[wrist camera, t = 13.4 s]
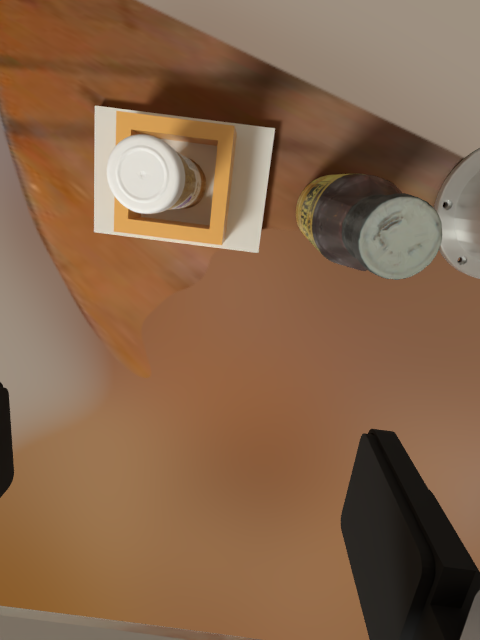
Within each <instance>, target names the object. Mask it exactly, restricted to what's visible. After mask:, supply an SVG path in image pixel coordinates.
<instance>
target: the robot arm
mask: <svg viewBox="0 0 480 640" xmlns="http://www.w3.org/2000/svg"><path fill="white" fill-rule="evenodd" d="M444 202H445V203H446V205H445V207H443V203H444ZM434 209H435V210H436V211H437V213H438V215H439V217H440V219H441V223H442V242H441V245H440V248H439V250H440V252H441V254H442V256H443V257H444V258H445V259H446V260H447V262H448V263H449V264H450V265H452V266H453V267H455V268H456V269H457V270H458V271H461V272H463V273H465V274H467V275H469V276H472V277H475V278H479V279H480V148H479V149H477V150H475V151H474V152H472V153H471V154H470V155H468V156H467V157H465V158H464V159H463V160H462V161H461V162H460V163H459V164H458V165H457V166H456V167H455V168H454V169H453V170H452V171H451V173H450V174H449V175H448V177H447V178H446V179H445V181H444V183H443V185H442V187H441V189H440V191H439V193H438V195H437V198H436V202H435V205H434ZM459 257H460V260H459V261H458V258H459ZM13 476H14V467H13V451H12V436H11V422H10V407H9V393H8V390H7V389H6V388H3V385H2V384H1V383H0V497H1V496H2V495H3V494H4V493H5V491H6V490H7V489H8V488H9V486H10V484H11V482H12V480H13ZM341 529H342V533H343V537H344V542H345V545H346V549H347V553H348V557H349V560H350V565H351V569H352V573H353V576H354V580H355V584H356V588H357V592H358V595H359V600H360V604H361V608H362V612H363V615H364V619H365V623H366V627H367V631H368V635H369V639H370V640H480V572H479V570H478V568H477V567H476V565H475V563H474V562H473V560H472V558H471V557H470V555H469V553H468V552H467V550H466V548H465V547H464V545H463V543H462V542H461V540H460V538H459V537H458V535H457V533H456V531H455V530H454V528H453V526H452V525H451V523H450V521H449V520H448V518H447V517H446V515H445V513H444V511H443V510H442V508H441V506H440V505H439V503H438V501H437V500H436V498H435V496H434V495H433V493H432V492H431V491H430V490H428V488H427V486H426V484H425V483H424V481H423V479H422V478H421V476H420V474H419V473H418V471H417V469H416V467H415V466H414V464H413V462H412V461H411V459H410V457H409V456H408V454H407V452H406V451H405V449H404V447H403V446H402V444H401V442H400V440H399V439H398V437H397V435H396V434H395V433H394V432H392V431H384V430H377V429H371V430H370V431H369V433H368V434H362V436H361V439H360V442H359V447H358V451H357V454H356V459H355V462H354V466H353V471H352V475H351V479H350V482H349V487H348V490H347V494H346V499H345V502H344V507H343V510H342V515H341ZM0 640H259V639H251V638H244V637H237V636H229V635H222V634H214V633H206V632H200V631H191V630H184V629H177V628H169V627H162V626H154V625H146V624H138V623H129V622H123V621H115V620H107V619H100V618H92V617H84V616H76V615H68V614H60V613H52V612H44V611H36V610H28V609H21V608H13V607H4V606H0Z"/></svg>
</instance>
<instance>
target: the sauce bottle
mask: <svg viewBox="0 0 480 640" xmlns="http://www.w3.org/2000/svg"><path fill="white" fill-rule="evenodd" d="M296 219H297V224H298V226H299V228H300V230H301V232H302V233H303V235H304V236H305V237H306V238H307V239H308V240H309V241H310V242H311V243H312V244H313V245H314V246H315V247H316V249H317V250H318V251H320V253H321V254H322V255H323V256H324V257H326V258H327V259H328V260H330V261H332V262H334V263H338V264H341V265H344V266H347V267H351V268H354V269H358V270H361V271H366V270H369V271H370V272H372V273H374V274H375V275H378V276H380V277H383V278H387V279H395V280H398V279H402V278H403V279H404V278H408V277H411V276H413V275H415V274H417V273H419V272H420V271H422V270H423V269H424V268H425V267H426V266H428V265H429V264H430V263H431V262H432V260H433V259H434V257H435V256H436V254H437V252H438V250H439V248H440V245H441V242H442V223H441V219H440V217H439V215H438V213H437V211H436V210H435V209H434V208H433V207H432V206H431V205H430V204H429V203H427V202H426V201H424V200H422V199H420V198H418V197H414V196H412V195H409V194H405V193H404V194H402V192H401V191H400V190H399V189H398V188H397V187H396V186H395V185H394V184H393V183H391V182H390V181H387V180H385V179H383V178H379V177H377V176H371V175H366V174H338V175H326V176H322V177H320V178H317V179H315V180H314V181H312V182H311V183H310V184H309V185H307V186H306V187H305V189H304V190H303V192H302V193H301V195H300V197H299V199H298V202H297V207H296Z"/></svg>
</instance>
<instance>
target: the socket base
mask: <svg viewBox="0 0 480 640" xmlns="http://www.w3.org/2000/svg"><path fill="white" fill-rule="evenodd" d="M274 133H275V128H268V127H260V126H252V125H244V124H237V123H229V122H221V121H213V120H205V119H197V118H189V117H181V116H174V115H166V114H158V113H150V112H142V111H134V110H126V109H118V108H111V107H103V106H95V166H94V232H97V233H105V234H113V235H121V236H129V237H137V238H145V239H152V240H160V241H168V242H176V243H184V244H192V245H200V246H207V247H215V248H223V249H231V250H239V251H248V252H255V253H258V252H259V244H260V237H261V229H262V222H263V215H264V207H265V200H266V192H267V185H268V177H269V170H270V163H271V155H272V148H273V140H274ZM137 134H145V135H151V136H154V137H156V138H158V139H161V140H162V141H164V142H166V143H167V144H169V145H170V146H171V147H172V148H173V149H174V150H175V151H177V152H178V153H180V154H182V155H183V156H185V157H187V158H189V159H191V160H193V161H195V162H196V163H197V164H198V165H199V166H200V167H201V169H202V170H203V172H204V174H205V178H206V190H205V193H204V196H203V198H202V199H201V201H200V202H199V203H198V204H196V205H195V206H193V207H190V208H187V209H167V210H165V211H163V212H160V213H154V214H142V213H137V212H134V211H132V210H130V209H128V208H126V207H125V206H123V205H122V204H121V203H120V202H119V201H118V200H117V199H116V198H115V196H114V195H113V193H112V191H111V189H110V187H109V184H108V180H107V163H108V159H109V156H110V154H111V152H112V150H113V149H114V147H115V146H116V145H117V144H118V143H119V142H120V141H122V140H123V139H125V138H127V137H129V136H132V135H137Z"/></svg>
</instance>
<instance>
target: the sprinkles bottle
mask: <svg viewBox="0 0 480 640" xmlns="http://www.w3.org/2000/svg"><path fill="white" fill-rule="evenodd" d="M107 180H108V184H109V187H110V189H111V191H112V193H113V195H114V196H115V198H116V199H117V200H118V201H119V202H120V203H121V204H122V205H123V206H125V207H126V208H128V209H130V210H132V211H134V212H137V213H142V214H154V213H160V212H163V211H165V210H167V209H187V208H190V207H193V206H195V205H196V204H198V203H199V202H200V201H201V199H202V198H203V196H204V193H205V190H206V178H205V174H204V172H203V170H202V169H201V167H200V166H199V165H198V164H197V163H196V162H195V161H193V160H191V159H189V158H187V157H185V156H183V155H182V154H180V153H178V152H177V151H175V150H174V149H173V148H172V147H171V146H170V145H169V144H167V143H166V142H164V141H162V140H161V139H158V138H156V137H154V136H151V135H145V134H137V135H132V136H129V137H127V138H125V139H123V140H122V141H120V142H119V143H118V144H117V145H116V146H115V147H114V149H113V150H112V152H111V154H110V156H109V159H108V163H107Z"/></svg>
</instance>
